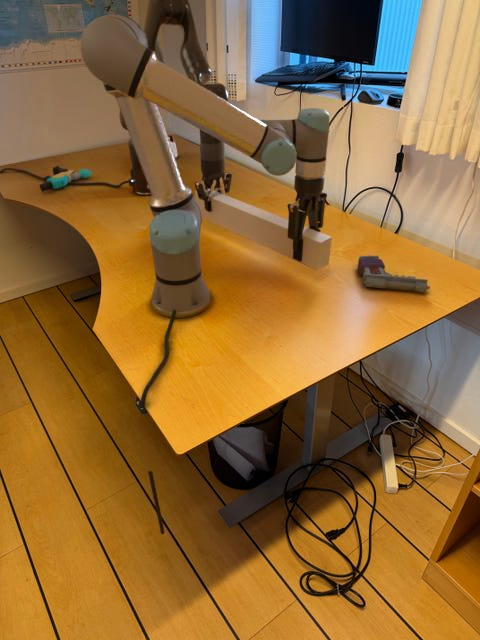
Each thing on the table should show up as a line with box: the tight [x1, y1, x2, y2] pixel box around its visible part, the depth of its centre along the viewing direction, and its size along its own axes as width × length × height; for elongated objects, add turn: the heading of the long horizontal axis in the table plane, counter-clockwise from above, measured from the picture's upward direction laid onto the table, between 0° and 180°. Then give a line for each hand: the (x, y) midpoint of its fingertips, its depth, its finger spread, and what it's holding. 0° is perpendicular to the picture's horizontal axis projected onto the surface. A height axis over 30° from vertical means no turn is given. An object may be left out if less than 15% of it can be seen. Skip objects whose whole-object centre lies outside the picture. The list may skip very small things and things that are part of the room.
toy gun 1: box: [39, 165, 92, 193], centre depth 197 cm, size 4×26×15 cm
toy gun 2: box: [356, 254, 431, 293], centre depth 132 cm, size 4×19×15 cm
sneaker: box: [167, 134, 179, 159], centre depth 214 cm, size 10×29×12 cm, turn 163°
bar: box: [194, 189, 333, 271], centre depth 144 cm, size 52×5×8 cm, turn 44°
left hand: (214, 208), depth 155 cm, fingers closed on bar, 4 cm apart
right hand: (303, 256), depth 135 cm, fingers closed on bar, 5 cm apart
